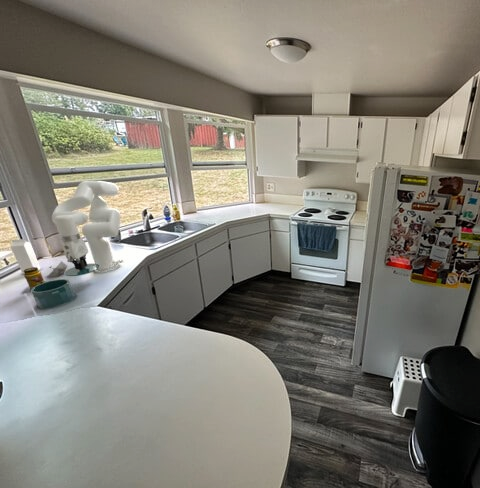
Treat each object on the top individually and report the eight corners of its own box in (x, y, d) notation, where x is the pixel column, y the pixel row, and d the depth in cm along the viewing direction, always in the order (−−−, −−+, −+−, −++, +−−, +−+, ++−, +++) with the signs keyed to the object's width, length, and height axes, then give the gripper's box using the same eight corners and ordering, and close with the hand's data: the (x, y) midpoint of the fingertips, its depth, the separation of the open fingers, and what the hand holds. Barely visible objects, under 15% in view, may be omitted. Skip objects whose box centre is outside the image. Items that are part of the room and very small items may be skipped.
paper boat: (54, 277, 153) (37, 273, 151) (60, 281, 158) (44, 278, 156) (69, 260, 160) (53, 257, 159) (74, 265, 165) (59, 262, 164)
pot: (70, 290, 141) (64, 275, 138) (79, 301, 131) (73, 286, 128) (34, 300, 131) (27, 285, 128) (42, 314, 121) (34, 297, 117)
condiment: (44, 288, 142) (37, 270, 138) (23, 293, 137) (14, 273, 133) (48, 283, 148) (41, 265, 143) (28, 287, 143) (19, 268, 139)
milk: (35, 272, 159) (22, 240, 152) (22, 274, 157) (8, 241, 149) (41, 268, 164) (28, 237, 157) (28, 270, 162) (14, 238, 154)
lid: (95, 262, 153) (92, 253, 150) (103, 270, 145) (100, 259, 142) (62, 271, 142) (58, 261, 139) (69, 279, 134) (64, 268, 131)
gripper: (67, 242, 129) (78, 274, 136) (89, 232, 144) (98, 261, 151) (50, 243, 128) (62, 274, 134) (74, 232, 143) (84, 261, 149)
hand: (81, 267), depth 142 cm, fingers closed on lid, 3 cm apart
